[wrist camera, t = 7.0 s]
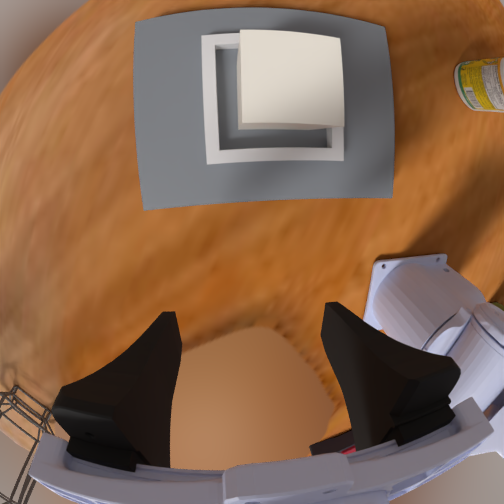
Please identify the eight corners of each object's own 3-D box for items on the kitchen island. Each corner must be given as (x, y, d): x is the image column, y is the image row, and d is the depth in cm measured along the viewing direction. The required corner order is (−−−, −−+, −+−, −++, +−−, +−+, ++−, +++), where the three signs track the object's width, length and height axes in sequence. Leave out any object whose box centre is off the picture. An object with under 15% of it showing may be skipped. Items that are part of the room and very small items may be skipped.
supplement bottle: (454, 104, 17) (531, 107, 8) (449, 55, 15) (520, 45, 6) (484, 115, 17) (552, 125, 8) (479, 71, 15) (544, 70, 6)
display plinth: (373, 33, 15) (391, 23, 12) (379, 192, 20) (399, 201, 17) (143, 31, 14) (131, 17, 11) (151, 203, 19) (139, 214, 16)
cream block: (306, 67, 14) (339, 38, 9) (307, 130, 16) (344, 126, 11) (236, 64, 14) (240, 29, 9) (238, 129, 16) (242, 122, 10)
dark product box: (401, 442, 35) (330, 476, 36) (392, 426, 39) (324, 460, 40) (399, 424, 31) (314, 465, 32) (389, 406, 35) (308, 445, 36)
